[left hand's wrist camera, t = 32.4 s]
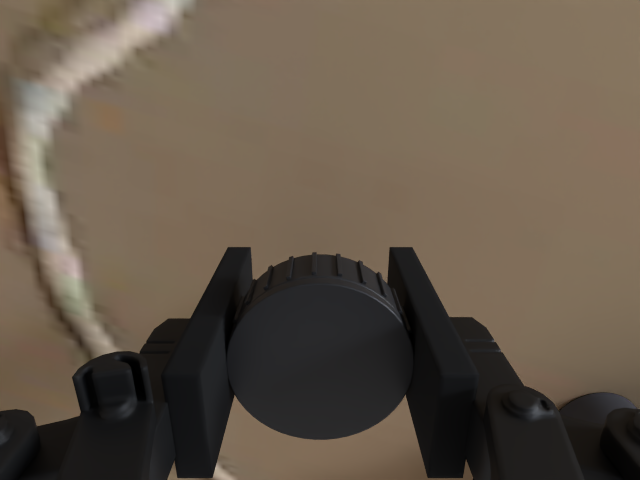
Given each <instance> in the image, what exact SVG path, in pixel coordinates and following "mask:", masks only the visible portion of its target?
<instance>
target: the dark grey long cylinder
mask: <svg viewBox="0 0 640 480" xmlns="http://www.w3.org/2000/svg"><path fill="white" fill-rule="evenodd" d="M619 408H633V409H637V408H636V407H635V406H634V404H633V403H632V402H631V401H629V400H628V399H626V398H625V397H623V396H620V395H617V394H613V393H593V394H588V395H585V396H582V397H580V398H577V399H575V400H573V401H571V402H570V403H568V404H567V405H566V406H564V407H563V408H562V409H561V410H560V411H559V413H560V414H562V415H565V416H569V417H572V418H576V419H580V420H585V421H589V422H594V423H598V424H602V425H604V424H605V420H606V417H607V415H608V414H609V413H610V412H611V411H612V410H614V409H619Z"/></svg>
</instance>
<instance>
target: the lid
mask: <svg viewBox="0 0 640 480" xmlns="http://www.w3.org/2000/svg"><path fill="white" fill-rule="evenodd" d="M232 322H233V323H234V326H233V329H232V332H231V335H230V337H229V342H228V347H227V351H226V364H227V375H228V379H229V383H230V385H231V388H232V390H233V392H234V394H235V396H236V397H237V399H238V401H239V402H240V403H241V404H242V406H243V407H244V408H245V409H246V410H247V411H248V412H249V413H250V414H251V415H252V416H253V417H254V418H256V419H257V420H258V421H260V422H261V423H263V424H265V425H266V426H268V427H270V428H272V429H274V430H276V431H278V432H281V433H284V434H287V435H290V436H294V437H299V438H304V439H313V440H327V439H337V438H342V437H347V436H350V435H354V434H357V433H360V432H362V431H364V430H367V429H369V428H371V427H372V426H374V425H376V424H378V423H379V422H380V421H382V420H383V419H385V418H386V417H387V416H388V415H389V414H390V413H391V412H392V411H394V410H395V408H396V407H397V406H398V405H399V404H400V402H401V401H402V399H403V398H404V396H405V394H406V393H407V391H408V388H409V386H410V384H411V380H412V376H413V367H414V350H413V345H412V341H411V338H410V335H409V334H410V333H412V331H411V328H410V325H409V322H408V320H407V317H406V314H405V311H404V308H403V306H400V303H399V300H398V297H397V294H396V291H395V289H394V288H390V287H389V286H388V285H387V283H386V282H385V281H384V280H383V279H382V275H381V274H380V273H379V272H378V273H377V274H376V273H375V272H374V271H372V270H371V269H369V268H368V267H366V266H364V265H363V262H362V261H360V260H359V261H358V262H356V261H353V260H351V259H347V258H344V257H341V256H340V254H336V256H333V255H317V253H316V252H313V253H312V255H307V256H301V257H297V258H294V257H293V256H291V257H289V260H287V261H285V262H282V263H280V264H278V265H276V266H274V267H273V266H272V265H271V266H269V267H268V271H267V272H265V273H264V274H263V275H262V276H261V277H259V278H258V279H257V280H255V279H254V280H253V281H252V283H251V286H250V289H249V290H248V292H247V294H246V295H245V297H244V296H242V297H241V299H240V302H239V304H238V307H237V310H236V313H235V316H234V319H233V321H232Z"/></svg>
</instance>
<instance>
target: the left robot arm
mask: <svg viewBox="0 0 640 480" xmlns="http://www.w3.org/2000/svg"><path fill="white" fill-rule="evenodd" d="M252 281H253V278H252V262H251V247H228V248H227V250H226V252H225V254H224V256H223V258H222V260H221V262H220V263H219V265H218V267H217V269H216V271H215V273H214V275H213V277H212V279H211V281H210V282H209V284H208V286H207V288H206V290H205V292H204V294H203V296H202V298H201V299H200V301H199V303H198V305H197V307H196V309H195V311H194V313H193V315H192V317H191V318H190V319H167V320H166V321H165V322H163V323H162V324H161V325H159V326H158V327H156V328H155V329H154V330H153V332H152V333H151V335H150V336H149V338H148V340H147V341H146V344H144V346H143V347H142V349H141V350H140V354H138V353H134V352H131V351H122V352H113V353H109V354H105V355H102V356H99V357H97V358H95V359H92V360H90V361H89V362H87V363H86V364H84V365H83V366H82V367H80V368H79V369H78V370H77V372H76V373H75V374H74V376H73V377H72V379H73V383H74V386H75V390H76V394H77V398H78V402H79V406H80V410H81V414H80V416H78V417H74V418H71V419H68V420H63V421H59V422H54V423H50V424H46V425H41V426H36V423H35V419H34V417H33V416H32V415H31V414H30V413H29V412H28V411H23V410H17V409H14V410H6V411H0V480H167V478H168V476H169V473H170V470H171V468H172V465H173V462H174V460H175V466H176V472H177V478H213V474H214V470H215V466H216V463H217V459H218V455H219V451H220V448H221V444H222V440H223V436H224V433H225V429H226V425H227V421H228V418H229V414H230V410H231V406H232V402H233V399H234V395H235V394H234V392H233V390H232V388H231V385H230V383H229V379H228V375H227V364H226V351H227V347H228V342H229V337H230V335H231V332H232V329H233V326H234V323H233V322H232V321H233V319H234V316H235V313H236V310H237V307H238V304H239V302H240V299H241V297H242V296H244V297H245V295H246V294H247V292H248V290H249V289H250V286H251V283H252ZM387 285H388V286H389V287H390V288H394V289H395V291H396V294H397V297H398V300H399V303H400V306H403V308H404V311H405V314H406V317H407V320H408V322H409V325H410V328H411V331H412V333H410V334H409V335H410V338H411V341H412V345H413V350H414V367H413V376H412V380H411V384H410V386H409V388H408V391H407V393H406V398H407V401H408V405H409V409H410V413H411V417H412V420H413V424H414V428H415V432H416V435H417V439H418V443H419V447H420V450H421V454H422V458H423V462H424V466H425V469H426V473H427V477H428V478H463V473H464V467H465V461H466V460H467V462H468V465H469V468H470V470H471V473H472V476H473V480H640V409H633V408H619V409H614V410H612V411H611V412H610V413H609V414H608V415H607V417H606V420H605V424H604V425H602V424H598V423H594V422H589V421H585V420H580V419H576V418H572V417H569V416H565V415H562V414H560V413H559V411H558V409H557V408H556V406H555V405H554V403H553V402H552V401H551V400H549V399H548V398H547V397H546V396H545V395H543V394H542V393H540V392H538V391H536V390H534V389H532V388H529V387H526V386H524V385H523V383H522V382H521V380H520V379H519V377H518V376H517V374H516V373H515V371H514V370H513V368H512V367H511V365H510V363H509V362H508V360H507V359H506V357H505V356H504V354H503V353H502V352H501V350H500V348H499V347H498V345H497V344H496V342H494V339H493V337H492V336H491V334H490V333H489V331H488V330H487V328H486V327H485V326H483V325H482V324H480V323H479V322H478V321H476V320H475V319H474V318H472V317H449V316H448V314H447V312H446V310H445V308H444V306H443V305H442V303H441V301H440V299H439V297H438V295H437V293H436V291H435V289H434V288H433V286H432V284H431V282H430V280H429V278H428V276H427V274H426V272H425V271H424V269H423V267H422V265H421V263H420V261H419V259H418V257H417V255H416V253H415V252H414V250H413V248H412V247H390V250H389V266H388V282H387Z"/></svg>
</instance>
